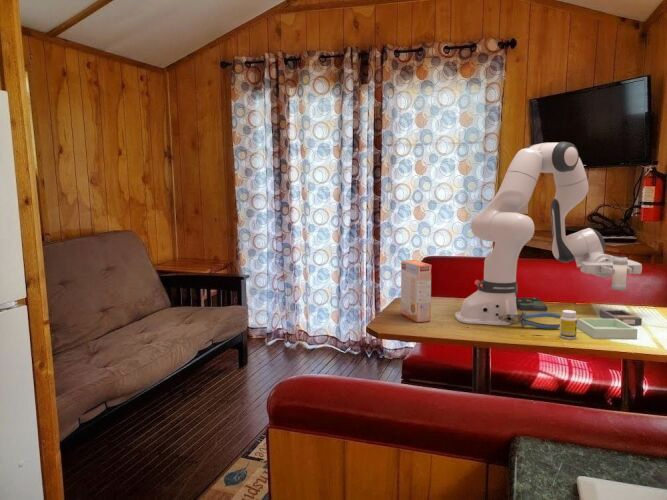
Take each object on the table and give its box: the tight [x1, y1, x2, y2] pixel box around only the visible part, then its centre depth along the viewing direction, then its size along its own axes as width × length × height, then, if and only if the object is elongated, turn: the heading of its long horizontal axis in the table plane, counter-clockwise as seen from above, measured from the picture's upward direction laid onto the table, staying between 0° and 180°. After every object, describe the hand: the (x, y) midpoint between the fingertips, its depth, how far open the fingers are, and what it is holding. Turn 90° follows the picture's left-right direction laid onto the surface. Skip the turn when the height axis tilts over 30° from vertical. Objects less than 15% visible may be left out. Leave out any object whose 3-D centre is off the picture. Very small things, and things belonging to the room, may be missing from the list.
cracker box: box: [400, 259, 432, 323], centre depth 184 cm, size 14×6×21 cm, turn 16°
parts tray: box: [576, 317, 639, 340], centre depth 163 cm, size 13×13×3 cm
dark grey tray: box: [599, 309, 643, 327], centre depth 178 cm, size 8×12×3 cm
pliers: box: [498, 311, 562, 330], centre depth 170 cm, size 20×2×6 cm, turn 80°
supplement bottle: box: [559, 309, 578, 340], centre depth 159 cm, size 5×5×8 cm
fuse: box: [610, 257, 629, 291], centre depth 177 cm, size 5×5×11 cm
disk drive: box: [516, 296, 548, 312], centre depth 201 cm, size 10×3×15 cm
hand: (621, 271), depth 176 cm, fingers closed on fuse, 4 cm apart
